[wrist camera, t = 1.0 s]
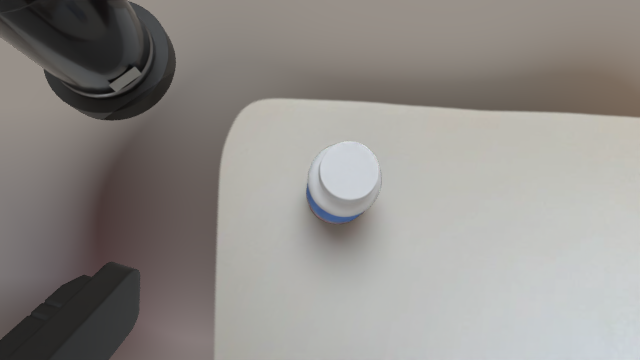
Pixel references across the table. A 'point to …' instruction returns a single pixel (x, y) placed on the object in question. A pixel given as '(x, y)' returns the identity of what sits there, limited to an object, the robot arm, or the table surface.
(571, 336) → the table surface
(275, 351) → the table surface
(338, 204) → the pill bottle
